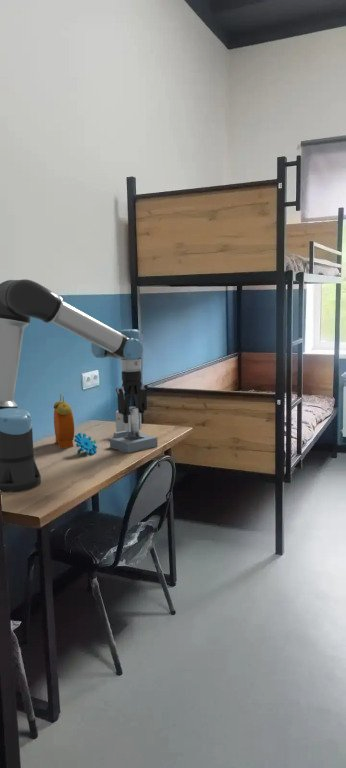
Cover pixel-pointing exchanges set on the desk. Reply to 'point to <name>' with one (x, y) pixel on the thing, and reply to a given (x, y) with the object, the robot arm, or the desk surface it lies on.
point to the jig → (132, 442)
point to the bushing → (134, 421)
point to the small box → (119, 422)
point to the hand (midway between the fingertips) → (133, 429)
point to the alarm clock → (63, 424)
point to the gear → (85, 444)
